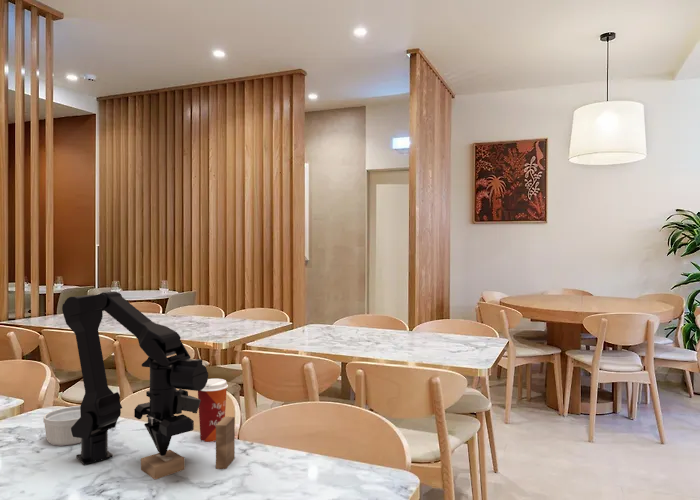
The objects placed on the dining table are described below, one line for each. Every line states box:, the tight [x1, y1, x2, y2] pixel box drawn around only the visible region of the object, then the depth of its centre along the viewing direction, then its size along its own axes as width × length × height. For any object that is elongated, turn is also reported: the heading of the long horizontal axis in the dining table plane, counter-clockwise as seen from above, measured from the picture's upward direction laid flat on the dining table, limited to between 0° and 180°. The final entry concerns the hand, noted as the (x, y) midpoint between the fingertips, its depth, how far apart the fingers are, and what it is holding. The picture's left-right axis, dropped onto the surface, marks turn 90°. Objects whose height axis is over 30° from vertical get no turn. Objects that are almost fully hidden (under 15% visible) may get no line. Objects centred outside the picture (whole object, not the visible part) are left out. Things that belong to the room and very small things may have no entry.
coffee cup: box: [197, 378, 229, 443], centre depth 133 cm, size 8×8×15 cm
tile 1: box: [140, 449, 186, 480], centre depth 113 cm, size 7×7×3 cm
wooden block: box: [215, 416, 236, 470], centre depth 117 cm, size 3×6×10 cm, turn 174°
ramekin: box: [43, 405, 81, 446], centre depth 133 cm, size 13×13×7 cm
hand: (162, 455), depth 113 cm, fingers closed
